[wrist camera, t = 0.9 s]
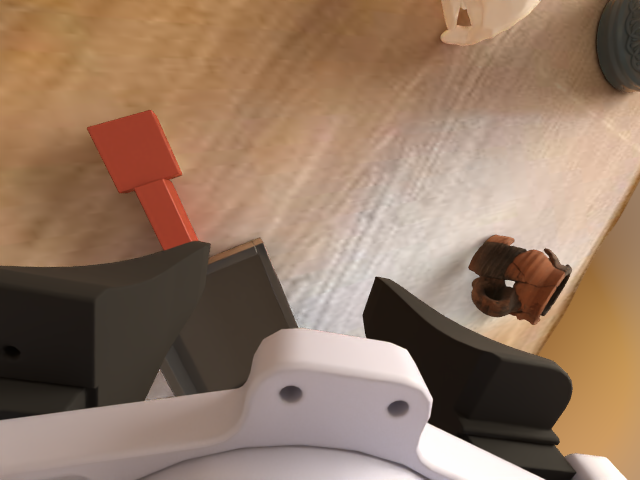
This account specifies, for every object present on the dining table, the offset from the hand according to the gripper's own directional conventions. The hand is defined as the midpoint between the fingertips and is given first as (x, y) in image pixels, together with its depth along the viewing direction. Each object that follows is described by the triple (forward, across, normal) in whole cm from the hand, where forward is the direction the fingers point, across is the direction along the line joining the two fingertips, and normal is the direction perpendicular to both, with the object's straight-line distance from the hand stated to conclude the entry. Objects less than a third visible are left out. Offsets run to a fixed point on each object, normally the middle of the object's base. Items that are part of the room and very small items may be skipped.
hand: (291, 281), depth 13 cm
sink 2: (+14, +3, +14) cm, 19 cm away
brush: (+15, +11, +2) cm, 19 cm away
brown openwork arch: (+21, -26, +5) cm, 33 cm away
